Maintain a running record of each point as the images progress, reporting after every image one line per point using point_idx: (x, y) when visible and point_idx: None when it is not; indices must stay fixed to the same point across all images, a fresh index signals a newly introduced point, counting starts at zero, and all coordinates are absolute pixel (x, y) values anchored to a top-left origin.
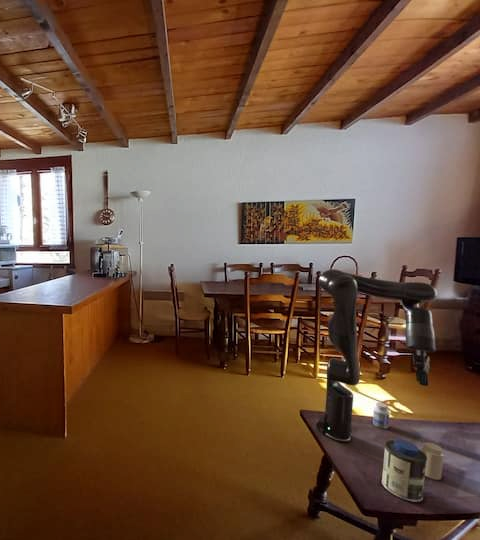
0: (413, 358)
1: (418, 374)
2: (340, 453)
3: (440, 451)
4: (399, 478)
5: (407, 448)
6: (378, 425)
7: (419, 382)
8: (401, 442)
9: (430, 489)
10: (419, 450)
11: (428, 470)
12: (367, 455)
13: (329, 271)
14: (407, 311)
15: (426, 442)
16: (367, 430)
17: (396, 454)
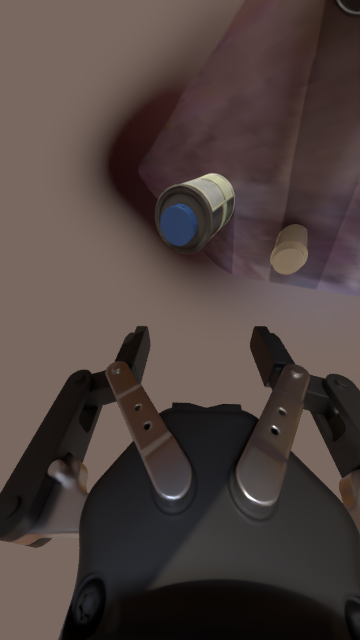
0: (134, 436)
1: (120, 351)
2: (253, 44)
3: (275, 270)
4: None
5: (164, 230)
6: None
7: (258, 330)
8: (177, 219)
9: (242, 238)
10: (201, 244)
11: (276, 239)
12: (291, 116)
13: None
14: None
15: (299, 251)
16: None
17: (155, 211)
